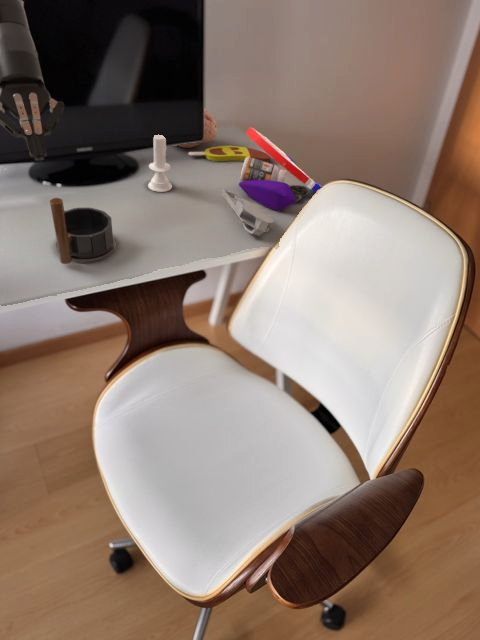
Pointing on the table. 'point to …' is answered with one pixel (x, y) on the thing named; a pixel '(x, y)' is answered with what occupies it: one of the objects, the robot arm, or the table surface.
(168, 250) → the table surface
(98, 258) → the round base
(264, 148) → the red toothbrush
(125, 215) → the table surface
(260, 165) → the pill bottle
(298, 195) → the corroded twin loop
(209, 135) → the anatomical model
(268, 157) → the popsicle
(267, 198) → the purple lump
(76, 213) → the wooden handled pot
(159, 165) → the candle
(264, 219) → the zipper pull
